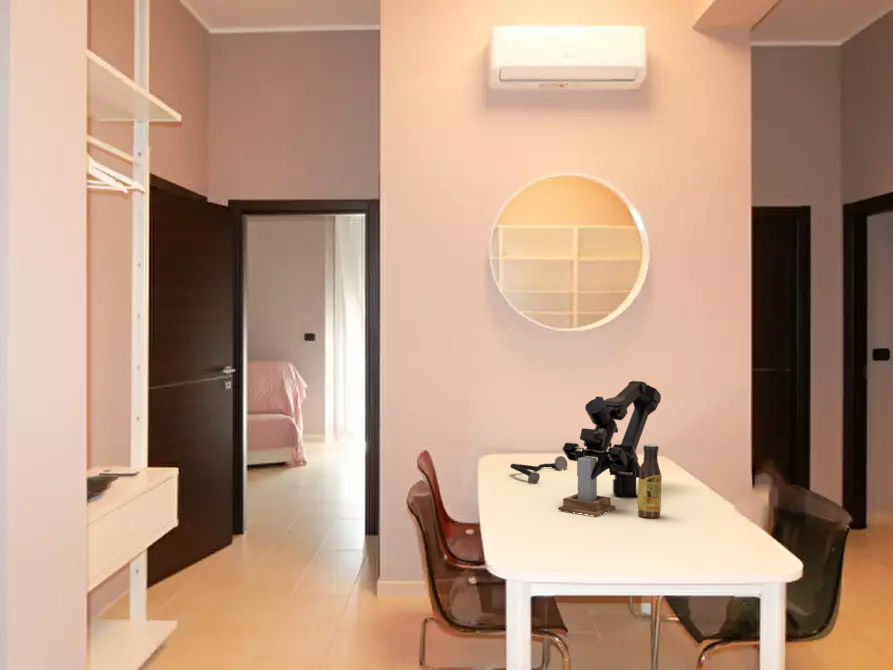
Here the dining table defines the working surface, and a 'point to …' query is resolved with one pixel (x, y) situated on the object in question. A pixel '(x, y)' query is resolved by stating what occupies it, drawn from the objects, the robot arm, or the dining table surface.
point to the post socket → (587, 505)
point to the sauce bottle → (649, 484)
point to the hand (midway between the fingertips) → (585, 477)
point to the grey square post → (586, 479)
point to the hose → (534, 477)
